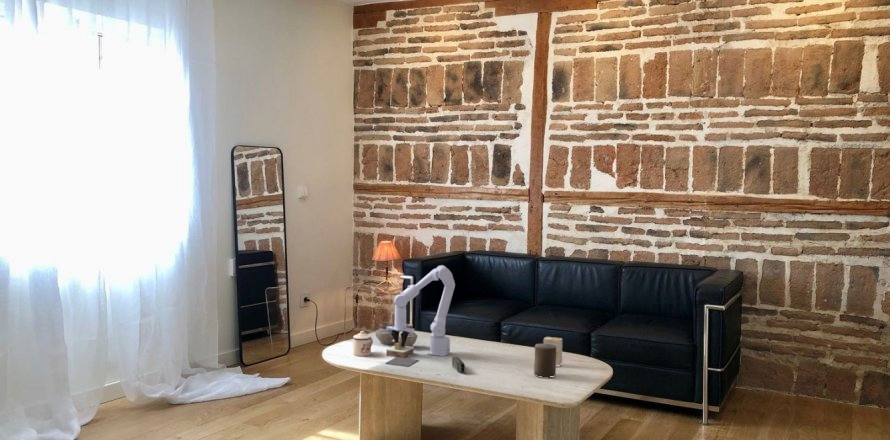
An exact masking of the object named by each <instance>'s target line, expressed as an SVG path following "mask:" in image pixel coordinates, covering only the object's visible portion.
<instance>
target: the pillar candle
mask: <svg viewBox="0 0 890 440" xmlns="http://www.w3.org/2000/svg"><path fill="white" fill-rule="evenodd" d="M533 365H534V369H533V370H534V371H533V375H534V374H535V375H537V376H542V377H550V376H554V375H555V376H556V374H557V373H556V369H557V367H556V346H555V345H553V344H546V343H545V344H544V343H536V344H535V345H534V364H533ZM535 375H534V376H535ZM537 376H536V377H537Z"/></svg>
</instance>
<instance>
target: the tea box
mask: <svg viewBox="0 0 890 440" xmlns="http://www.w3.org/2000/svg"><path fill="white" fill-rule="evenodd" d="M411 354H412V355H413V354H414V348H413V349H411V350H409V351H407V352H405V353H402V352H395V351H387V350H386V357H391V358H392V357H393V358H396V357H401V358H408V357H409V356H411Z"/></svg>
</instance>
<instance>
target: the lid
mask: <svg viewBox="0 0 890 440" xmlns="http://www.w3.org/2000/svg"><path fill="white" fill-rule="evenodd" d="M411 349H413V350H414V349H415V347H414V346H413V347H408V346H406V342H405V346H404V347H402V341H399V342H397V343H395V342H394V345H393V346H391V347H388V348H386V349H385V350H386V352H387V351H395V352H402V353H405V352H407V351H409V350H411Z"/></svg>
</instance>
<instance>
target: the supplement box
mask: <svg viewBox="0 0 890 440" xmlns="http://www.w3.org/2000/svg"><path fill="white" fill-rule="evenodd" d="M545 343H546V344H553V345H555V346H556V365H560V364H561V363H562V364H563V338H562V337H553V336H546V337H544V338H543V344H545Z"/></svg>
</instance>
